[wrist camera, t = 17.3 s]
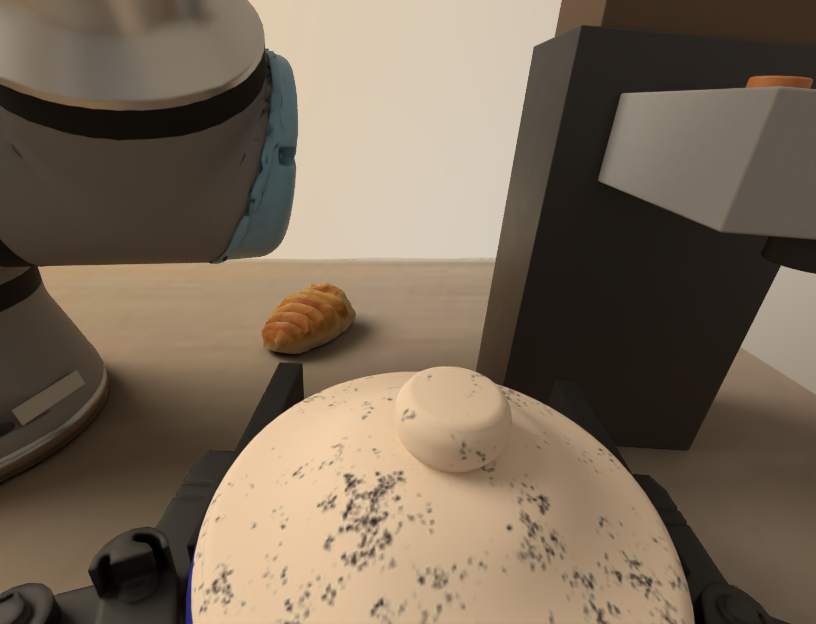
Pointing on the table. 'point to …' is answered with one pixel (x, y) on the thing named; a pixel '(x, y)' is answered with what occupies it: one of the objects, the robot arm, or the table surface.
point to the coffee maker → (653, 204)
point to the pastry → (308, 319)
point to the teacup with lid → (431, 516)
